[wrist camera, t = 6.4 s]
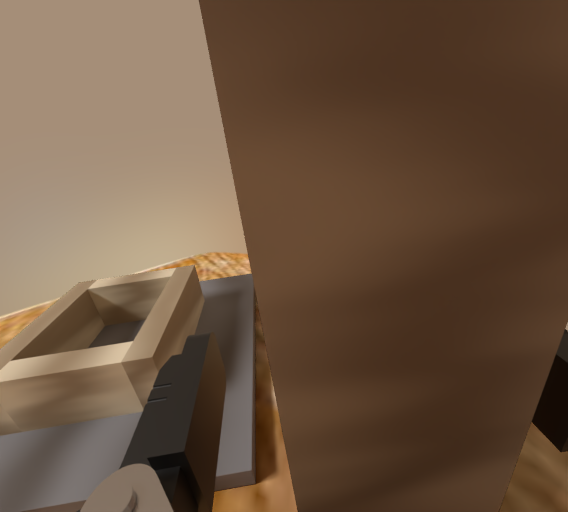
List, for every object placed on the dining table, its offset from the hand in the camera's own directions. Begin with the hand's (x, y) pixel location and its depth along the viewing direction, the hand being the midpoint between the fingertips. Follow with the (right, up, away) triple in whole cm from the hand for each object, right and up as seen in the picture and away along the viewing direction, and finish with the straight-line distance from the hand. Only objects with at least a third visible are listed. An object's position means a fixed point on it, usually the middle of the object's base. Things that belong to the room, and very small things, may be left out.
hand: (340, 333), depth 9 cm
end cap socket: (-13, -5, +11) cm, 18 cm away
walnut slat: (+1, -8, +1) cm, 8 cm away
